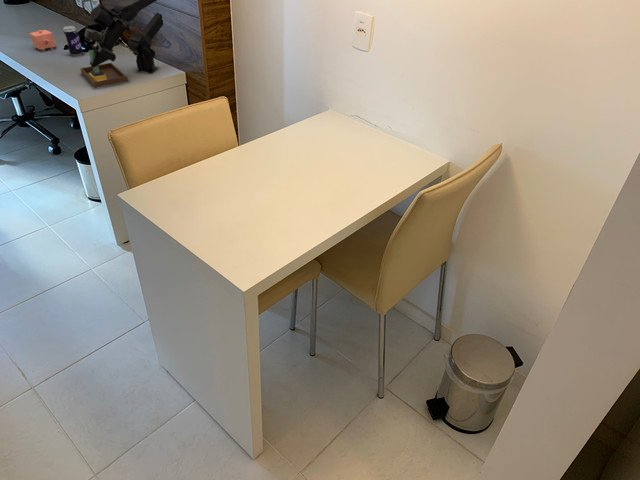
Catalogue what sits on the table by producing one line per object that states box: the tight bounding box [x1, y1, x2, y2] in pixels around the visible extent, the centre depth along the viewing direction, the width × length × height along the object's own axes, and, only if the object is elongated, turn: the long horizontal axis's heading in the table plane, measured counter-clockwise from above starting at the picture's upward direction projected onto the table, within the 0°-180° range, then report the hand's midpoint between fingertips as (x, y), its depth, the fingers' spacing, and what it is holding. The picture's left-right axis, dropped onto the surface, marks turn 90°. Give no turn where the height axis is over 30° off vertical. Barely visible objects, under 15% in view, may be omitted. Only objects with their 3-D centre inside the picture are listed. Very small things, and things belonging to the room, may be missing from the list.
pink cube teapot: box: [29, 29, 57, 52], centre depth 230 cm, size 8×12×8 cm, turn 46°
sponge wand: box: [88, 49, 107, 82], centre depth 199 cm, size 5×6×12 cm
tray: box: [80, 62, 128, 88], centre depth 205 cm, size 19×13×3 cm
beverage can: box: [62, 25, 84, 57], centre depth 224 cm, size 6×6×12 cm
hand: (91, 65), depth 198 cm, fingers closed on sponge wand, 2 cm apart
